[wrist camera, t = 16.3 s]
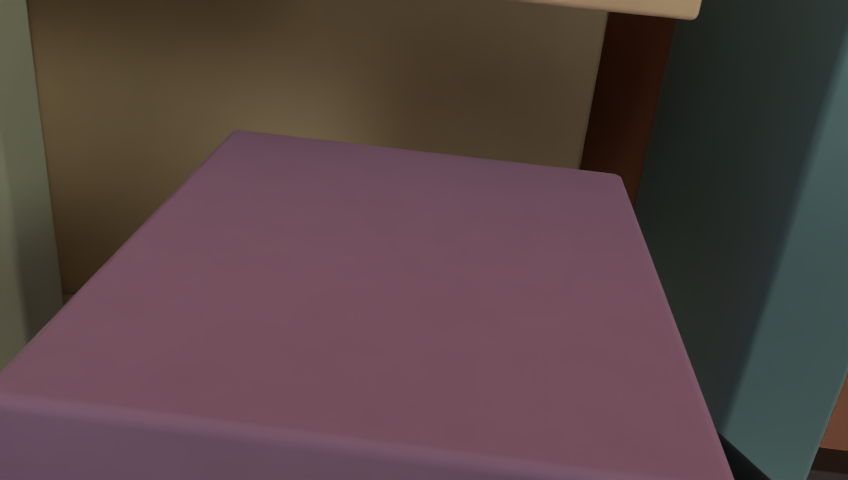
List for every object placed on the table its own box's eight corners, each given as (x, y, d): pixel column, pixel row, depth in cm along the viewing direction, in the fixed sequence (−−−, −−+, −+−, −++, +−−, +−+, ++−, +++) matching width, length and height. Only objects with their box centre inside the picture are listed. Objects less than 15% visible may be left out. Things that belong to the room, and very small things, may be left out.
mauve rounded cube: (623, 171, 9) (749, 498, 4) (557, 476, 10) (598, 920, 6) (232, 125, 9) (-33, 395, 4) (236, 434, 11) (52, 837, 6)
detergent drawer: (1100, -103, 13) (1657, -62, 7) (877, 422, 17) (1085, 735, 11) (-7, -214, 13) (-435, -270, 7) (60, 321, 18) (-168, 564, 12)
